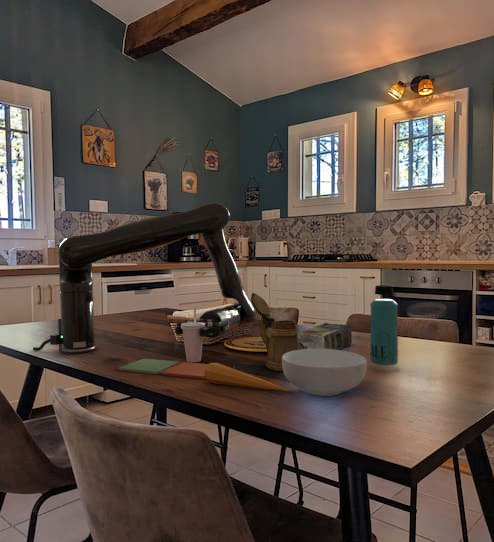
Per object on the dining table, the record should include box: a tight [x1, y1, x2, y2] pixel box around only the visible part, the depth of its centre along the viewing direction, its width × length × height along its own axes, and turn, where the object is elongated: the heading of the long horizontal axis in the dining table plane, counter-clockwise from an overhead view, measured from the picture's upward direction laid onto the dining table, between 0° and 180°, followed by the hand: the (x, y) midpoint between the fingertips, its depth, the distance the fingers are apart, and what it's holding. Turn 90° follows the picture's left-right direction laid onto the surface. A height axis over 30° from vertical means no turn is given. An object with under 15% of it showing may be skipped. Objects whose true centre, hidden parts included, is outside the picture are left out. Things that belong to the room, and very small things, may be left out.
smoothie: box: [181, 306, 205, 363], centre depth 132 cm, size 6×6×14 cm
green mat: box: [117, 358, 181, 375], centre depth 127 cm, size 11×11×1 cm
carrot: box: [204, 362, 290, 392], centre depth 108 cm, size 20×4×4 cm, turn 61°
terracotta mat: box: [160, 361, 209, 380], centre depth 122 cm, size 11×11×1 cm
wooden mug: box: [250, 292, 300, 372], centre depth 125 cm, size 9×14×18 cm, turn 57°
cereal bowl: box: [282, 349, 367, 397], centre depth 104 cm, size 17×17×7 cm
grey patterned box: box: [298, 322, 353, 350], centre depth 145 cm, size 20×10×6 cm, turn 145°
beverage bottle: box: [369, 284, 399, 366], centre depth 121 cm, size 6×7×20 cm
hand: (189, 331), depth 130 cm, fingers closed on smoothie, 6 cm apart
